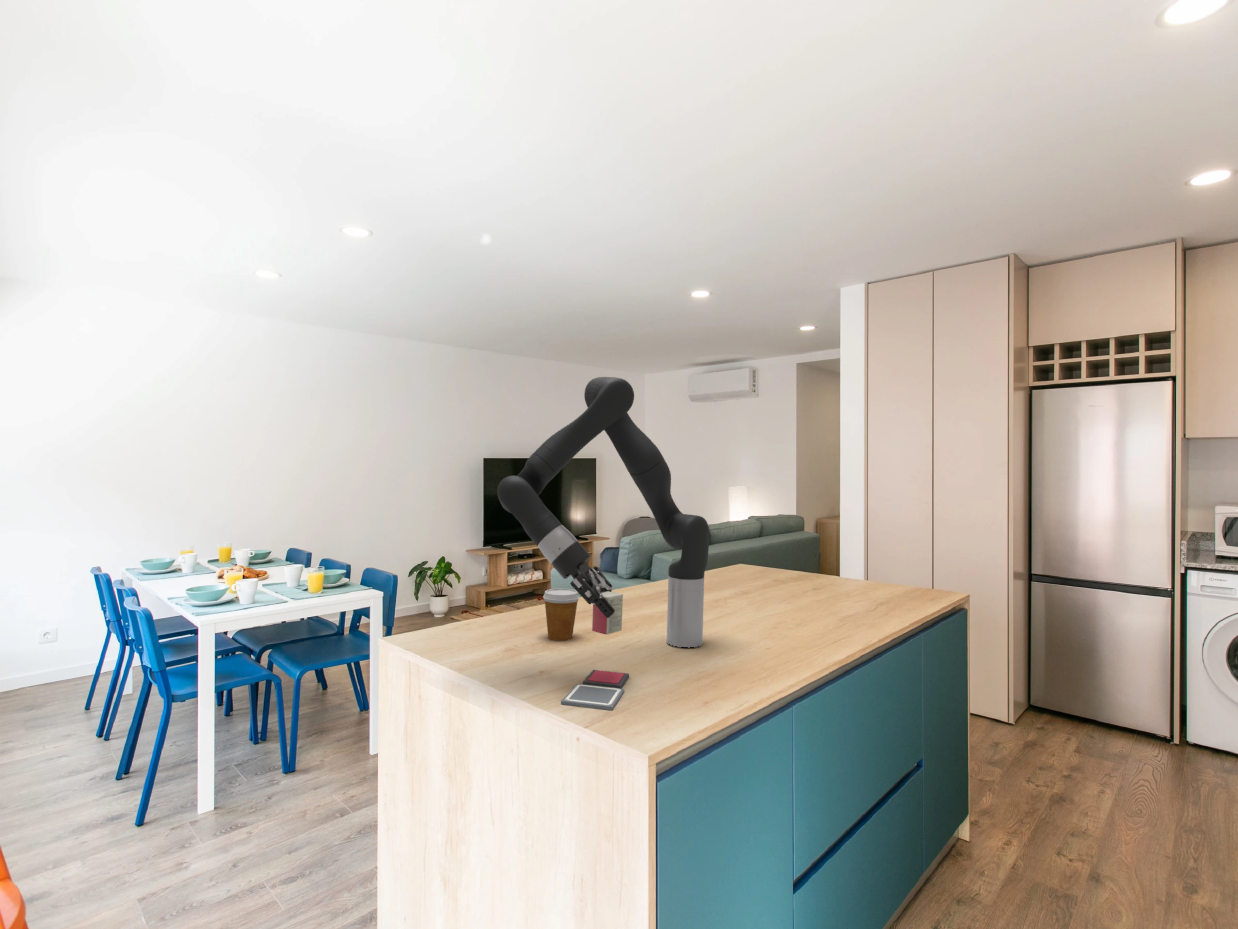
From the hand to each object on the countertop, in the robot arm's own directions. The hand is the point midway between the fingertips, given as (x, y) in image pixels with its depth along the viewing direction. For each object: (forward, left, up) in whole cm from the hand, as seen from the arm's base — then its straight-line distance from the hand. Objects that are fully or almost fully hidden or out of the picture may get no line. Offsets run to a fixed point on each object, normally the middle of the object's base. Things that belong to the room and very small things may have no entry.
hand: (615, 611), depth 134 cm
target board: (+10, -2, -15) cm, 18 cm away
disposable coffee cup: (-29, -22, -15) cm, 39 cm away
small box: (0, -2, -5) cm, 5 cm away
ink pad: (0, -2, -15) cm, 15 cm away
